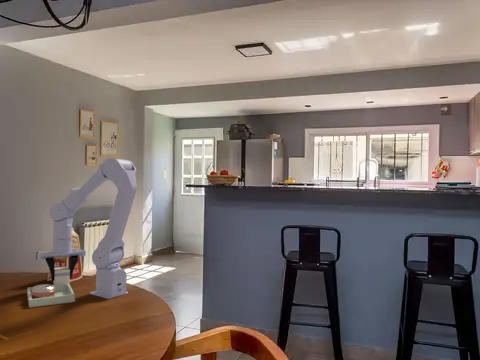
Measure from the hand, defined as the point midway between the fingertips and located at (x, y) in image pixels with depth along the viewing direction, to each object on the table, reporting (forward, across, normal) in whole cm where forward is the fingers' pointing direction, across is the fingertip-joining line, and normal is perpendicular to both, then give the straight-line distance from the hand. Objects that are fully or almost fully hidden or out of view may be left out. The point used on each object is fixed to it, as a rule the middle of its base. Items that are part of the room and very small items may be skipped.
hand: (61, 279), depth 129 cm
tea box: (+2, 0, 0) cm, 2 cm away
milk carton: (+3, -3, -13) cm, 14 cm away
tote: (+3, +4, +10) cm, 12 cm away
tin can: (+3, +6, +12) cm, 14 cm away
